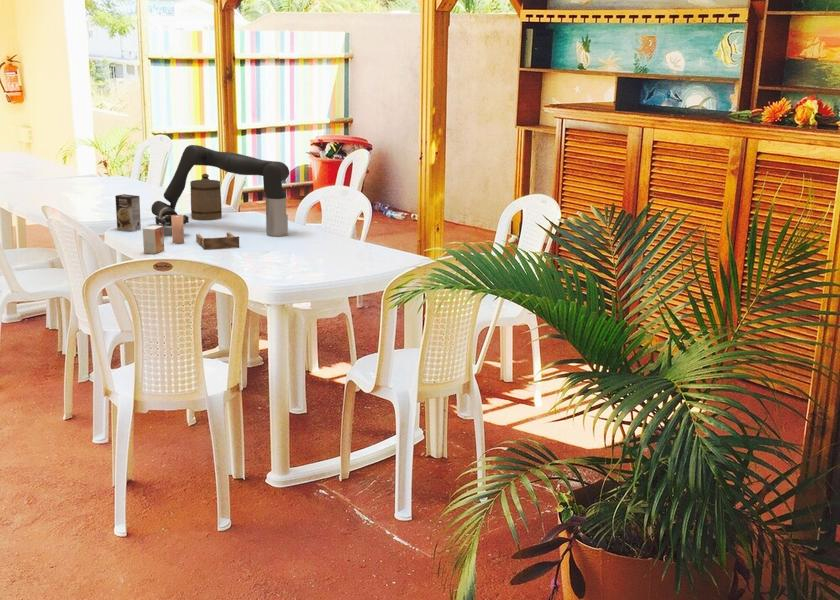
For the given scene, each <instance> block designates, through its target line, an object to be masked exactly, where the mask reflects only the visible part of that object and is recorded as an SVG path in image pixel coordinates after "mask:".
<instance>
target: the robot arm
mask: <svg viewBox="0 0 840 600" xmlns="http://www.w3.org/2000/svg"><path fill="white" fill-rule="evenodd" d="M194 166H205V167H206V166H207V167H213V168H214V167H215V168H217V169H220V170H222V171H224V172H227V173H231V174H235V175H241V176H260V177H261V176H262V181H263V182H262V183H263V191H264V192H263V193H264V194H265V218H266V220H265V224H266V225H265V226H266V227H265V231H266V235H267V236H270V237H283V236H288V235H289V225H288V224H289V221H288V220H289V215H288V213H287V192H286V191H285V190H284V189H283V182H284V181H285V180H287V179H288V177H289V175H290V170H289V167H288V165H286V164H285V163H284V162H281V161H273V160H265V159H259V158H257V157H253V156H249V155H244V154H242V153H241V154H240V153H236V152H229V151H218V150H215V149H214V150H213V149H210V148H207V147H205V146H202V145H196V144H191V145H188V146H186V147H185V148H184V150H183V152H182V154H181V157H180V160H179V162H178V165H177V167H176V170H175V172H174V175H173V177H172V179H171V180H170V182H169V184H168V186H167V188H166V189H165V191H164V194H163V198H164V199H165V200H166V201H167V202H169V203H166V202H163V201H161V200H156V201H155V202H153V203H152V205H151V209H150V210H151V212H152V214H153V215H154V216H155V217H154V218H155V220H154V221H155V223H156V225H161V226H168V227H172V221H171V216H172V215H179V213H177V211H175V210H176V207H177V204H178V201H179V199H180V197H181V196H182V194H183V192H184V190H185V188H186V184H187V178H188V175H189V173H190V172H191V170H192V169H193V167H194ZM182 215H183V225H186V223H187V224H188V223H190V222H189V216H187V215H186V214H182Z"/></svg>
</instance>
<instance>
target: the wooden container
mask: <svg viewBox="0 0 840 600" xmlns="http://www.w3.org/2000/svg"><path fill="white" fill-rule="evenodd" d="M209 177H210V176H209V174H208V173H203V174H201V179H195V180H191V181H190V182H189V183H190V185H189V186H190V213H191V219H193V220H197V221H214V220H220V219H221V218H223V217H222V216H223V213H222V192H221V181H220V180H217V179H210V178H209Z"/></svg>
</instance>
